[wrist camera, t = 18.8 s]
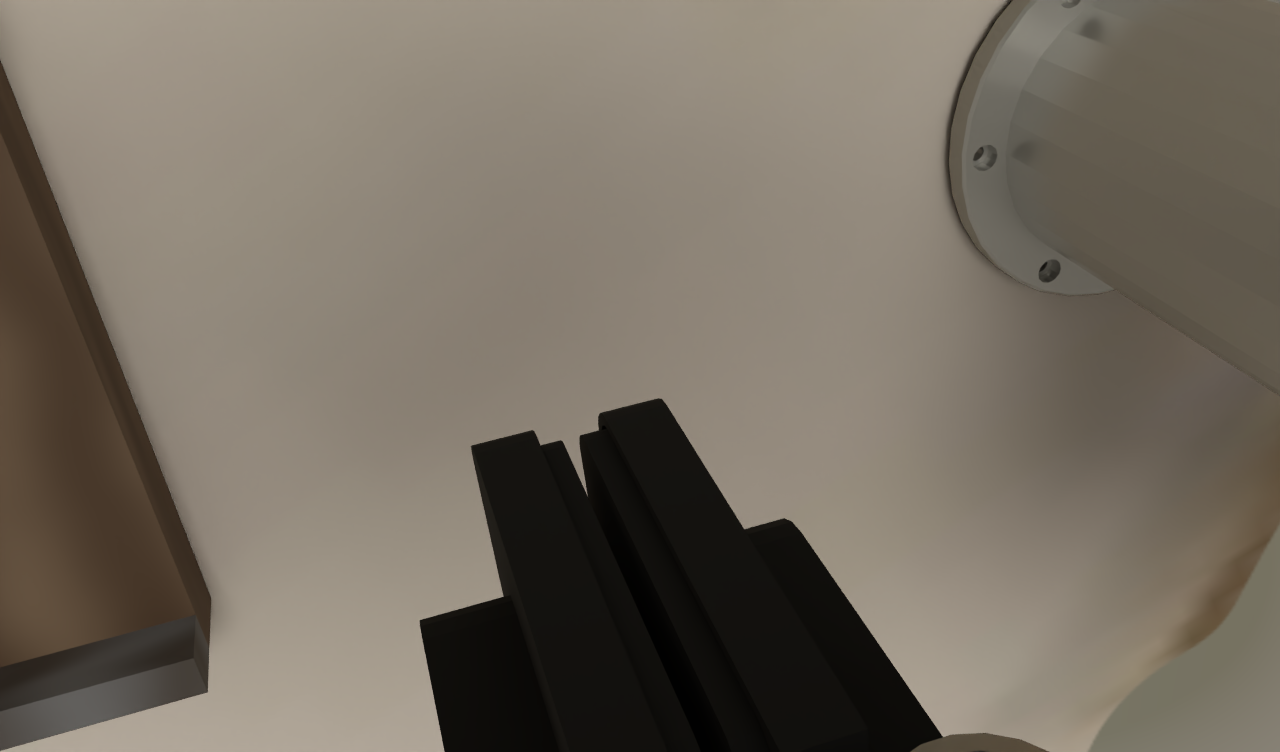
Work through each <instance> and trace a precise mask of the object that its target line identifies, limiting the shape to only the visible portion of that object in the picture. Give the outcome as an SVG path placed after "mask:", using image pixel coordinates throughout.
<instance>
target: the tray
mask: <svg viewBox="0 0 1280 752" xmlns="http://www.w3.org/2000/svg"><path fill="white" fill-rule="evenodd" d="M210 613H211V597H210V594H209V592H208V589H207V587H206V584H205V582H204V579H203V577H202V574H201V571H200V569H199V566H198V564H197V561H196V559H195V556H194V554H193V551H192V548H191V546H190V543H189V541H188V538H187V536H186V533H185V531H184V528H183V525H182V523H181V520H180V518H179V515H178V513H177V510H176V508H175V505H174V503H173V500H172V497H171V495H170V492H169V490H168V487H167V485H166V482H165V480H164V477H163V474H162V472H161V469H160V467H159V464H158V462H157V459H156V457H155V454H154V451H153V449H152V446H151V444H150V441H149V439H148V436H147V434H146V431H145V429H144V426H143V423H142V421H141V418H140V416H139V413H138V411H137V408H136V406H135V403H134V400H133V398H132V395H131V393H130V390H129V388H128V385H127V383H126V380H125V377H124V375H123V372H122V370H121V367H120V365H119V362H118V360H117V357H116V355H115V352H114V349H113V347H112V344H111V342H110V339H109V337H108V334H107V332H106V329H105V326H104V324H103V321H102V319H101V316H100V314H99V311H98V309H97V306H96V303H95V301H94V298H93V296H92V293H91V291H90V288H89V286H88V283H87V281H86V278H85V275H84V273H83V270H82V268H81V265H80V263H79V260H78V258H77V255H76V252H75V250H74V247H73V245H72V242H71V240H70V237H69V235H68V232H67V229H66V227H65V224H64V222H63V219H62V217H61V214H60V212H59V209H58V207H57V204H56V201H55V199H54V196H53V194H52V191H51V189H50V186H49V184H48V181H47V178H46V176H45V173H44V171H43V168H42V166H41V163H40V161H39V158H38V155H37V153H36V150H35V148H34V145H33V143H32V140H31V138H30V135H29V132H28V130H27V127H26V125H25V122H24V120H23V117H22V115H21V112H20V110H19V107H18V104H17V102H16V99H15V97H14V94H13V92H12V89H11V87H10V84H9V81H8V79H7V76H6V74H5V71H4V69H3V66H2V64H1V61H0V751H1V750H4V749H8V748H12V747H15V746H19V745H22V744H26V743H29V742H33V741H36V740H40V739H44V738H47V737H51V736H54V735H58V734H61V733H65V732H68V731H72V730H75V729H79V728H83V727H86V726H90V725H93V724H97V723H100V722H104V721H107V720H111V719H115V718H118V717H122V716H125V715H129V714H132V713H136V712H139V711H143V710H146V709H150V708H154V707H157V706H161V705H164V704H168V703H171V702H175V701H178V700H182V699H185V698H189V697H193V696H196V695H200V694H203V693H207V692H208V669H209V641H210Z"/></svg>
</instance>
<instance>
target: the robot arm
mask: <svg viewBox="0 0 1280 752" xmlns="http://www.w3.org/2000/svg"><path fill="white" fill-rule="evenodd" d="M949 168H950V177H951V186H952V195H953V198H954V201H955V204H956V207H957V210H958V213H959V216H960V220H961V223H962V225H963V226H964V228H965V230H966V231H967V233H968V234H969V236H970V238H971V239H972V241H973V243H974V244H975V246H976V247H977V248H978V249H979V250H980V251H981V252H982V253H983V254H984V255H985V256H986V257H987V258H988V259H989V260H990V261H991V262H992V263H993V264H994V265H995V266H996V267H998V268H999V269H1001V270H1002V271H1004V272H1005V273H1007V274H1008V275H1010V276H1011V277H1012V278H1014V279H1015V280H1017V281H1018V282H1020V283H1022V284H1024V285H1026V286H1029V287H1031V288H1033V289H1035V290H1038V291H1041V292H1046V293H1052V294H1059V295H1065V296H1081V295H1098V294H1102V293H1106V292H1110V291H1114V290H1117V291H1118V292H1120V293H1121V294H1123V295H1124V296H1126V297H1127V298H1129V299H1130V300H1132V301H1134V302H1135V303H1137V304H1138V305H1140V306H1141V307H1143V308H1144V309H1146V310H1147V311H1149V312H1151V313H1152V314H1154V315H1155V316H1157V317H1158V318H1160V319H1161V320H1163V321H1164V322H1166V323H1168V324H1169V325H1171V326H1172V327H1174V328H1175V329H1177V330H1178V331H1180V332H1181V333H1183V334H1185V335H1186V336H1188V337H1189V338H1191V339H1192V340H1194V341H1195V342H1197V343H1199V344H1200V345H1202V346H1203V347H1205V348H1206V349H1208V350H1209V351H1211V352H1212V353H1214V354H1216V355H1217V356H1219V357H1220V358H1222V359H1223V360H1225V361H1226V362H1228V363H1229V364H1231V365H1233V366H1234V367H1236V368H1237V369H1239V370H1240V371H1242V372H1243V373H1245V374H1246V375H1248V376H1250V377H1251V378H1253V379H1254V380H1256V381H1257V382H1259V383H1260V384H1262V385H1263V386H1265V387H1267V388H1268V389H1270V390H1271V391H1273V392H1274V393H1276V394H1277V395H1279V396H1280V0H1013V1H1012V2H1011V3H1010V4H1009V6H1008V7H1007V8H1006V9H1005V10H1004V12H1003V13H1002V14H1001V15H1000V16H999V18H998V19H997V20H996V22H995V23H994V25H993V27H992V28H991V30H990V32H989V33H988V35H987V37H986V38H985V40H984V42H983V43H982V45H981V47H980V48H979V50H978V52H977V53H976V55H975V57H974V60H973V62H972V65H971V67H970V69H969V72H968V74H967V77H966V79H965V81H964V84H963V86H962V89H961V91H960V95H959V99H958V103H957V107H956V111H955V115H954V119H953V124H952V128H951V141H950V154H949ZM598 426H599V431H595V432H591V433H588V434H584V435H580V451H581V457H582V463H583V469H584V475H585V481H586V487H587V494H588V497H587V494H586V492H585V490H584V488H583V485H582V483H581V481H580V479H579V476H578V474H577V472H576V470H575V468H574V465H573V463H572V461H571V459H570V456H569V454H568V452H567V450H566V447H565V445H564V443H563V442H562V441H561V440H560V441H556V442H552V443H548V444H545V445H541V446H540V443H539V441H538V438H537V436H536V434H535V432H534V431H533V430H531V431H527V432H524V433H520V434H516V435H512V436H508V437H504V438H500V439H496V440H492V441H488V442H484V443H480V444H476V445H472V446H471V450H472V455H473V460H474V465H475V470H476V474H477V479H478V483H479V488H480V492H481V497H482V501H483V506H484V510H485V515H486V519H487V524H488V528H489V533H490V537H491V542H492V546H493V551H494V555H495V560H496V564H497V569H498V573H499V578H500V582H501V587H502V591H503V596H504V597H501V598H498V599H494V600H491V601H487V602H483V603H480V604H476V605H473V606H469V607H465V608H462V609H458V610H455V611H451V612H448V613H444V614H440V615H437V616H433V617H430V618H426V619H423V620H420V628H421V633H422V639H423V644H424V649H425V654H426V659H427V664H428V670H429V675H430V680H431V685H432V690H433V695H434V700H435V705H436V710H437V715H438V720H439V725H440V730H441V735H442V741H443V746H444V751H445V752H1048V751H1046V750H1044V749H1041V748H1039V747H1037V746H1034V745H1032V744H1030V743H1027V742H1025V741H1023V740H1020V739H1015V738H1010V737H1004V736H999V735H993V734H988V733H976V734H956V735H949V736H946V737H943V736H942V735H941V734H940V732H939V731H938V729H937V728H936V726H935V725H934V723H933V722H932V721H931V719H930V718H929V716H928V715H927V713H926V712H925V710H924V709H923V708H922V706H921V705H920V703H919V702H918V700H917V699H916V697H915V696H914V695H913V693H912V692H911V690H910V689H909V687H908V686H907V684H906V683H905V682H904V680H903V679H902V677H901V676H900V674H899V673H898V671H897V670H896V669H895V667H894V666H893V664H892V663H891V661H890V660H889V658H888V657H887V656H886V654H885V653H884V651H883V650H882V648H881V647H880V645H879V644H878V643H877V641H876V640H875V638H874V637H873V635H872V634H871V632H870V631H869V630H868V628H867V627H866V625H865V624H864V622H863V621H862V619H861V618H860V617H859V615H858V614H857V612H856V611H855V609H854V608H853V606H852V605H851V604H850V602H849V601H848V599H847V598H846V596H845V595H844V593H843V592H842V591H841V589H840V588H839V586H838V585H837V583H836V582H835V580H834V579H833V578H832V576H831V575H830V573H829V572H828V570H827V569H826V567H825V566H824V565H823V563H822V562H821V560H820V559H819V557H818V556H817V554H816V553H815V552H814V550H813V549H812V547H811V546H810V544H809V543H808V541H807V540H806V539H805V537H804V536H803V534H802V533H801V532H800V530H799V529H798V528H797V527H796V526H795V525H794V524H793V522H791V521H789V520H787V519H785V518H784V519H780V520H777V521H773V522H769V523H766V524H762V525H759V526H755V527H751V528H748V529H744V528H743V527H742V525H741V524H740V522H739V520H738V519H737V517H736V516H735V514H734V512H733V511H732V509H731V508H730V506H729V504H728V503H727V501H726V499H725V498H724V496H723V495H722V493H721V491H720V490H719V488H718V487H717V485H716V483H715V482H714V480H713V479H712V477H711V475H710V474H709V472H708V471H707V469H706V467H705V466H704V464H703V463H702V461H701V459H700V458H699V456H698V455H697V453H696V451H695V450H694V448H693V447H692V445H691V443H690V442H689V440H688V439H687V437H686V435H685V434H684V432H683V431H682V429H681V427H680V426H679V424H678V423H677V421H676V419H675V418H674V416H673V415H672V413H671V411H670V410H669V408H668V407H667V405H666V404H665V402H664V401H663V400H662V399H659V398H658V399H654V400H650V401H646V402H642V403H638V404H634V405H630V406H626V407H622V408H618V409H615V410H611V411H607V412H603V413H600V414H599V417H598Z"/></svg>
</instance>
